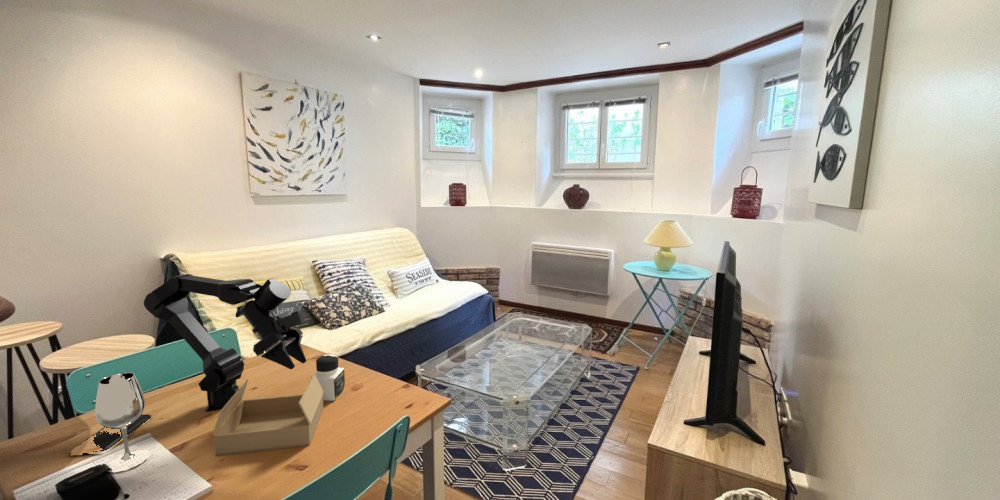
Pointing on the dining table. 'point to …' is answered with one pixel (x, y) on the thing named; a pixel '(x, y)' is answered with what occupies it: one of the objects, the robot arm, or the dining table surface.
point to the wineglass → (119, 404)
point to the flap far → (311, 398)
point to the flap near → (230, 406)
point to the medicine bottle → (330, 377)
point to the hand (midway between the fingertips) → (299, 365)
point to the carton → (266, 426)
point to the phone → (109, 440)
